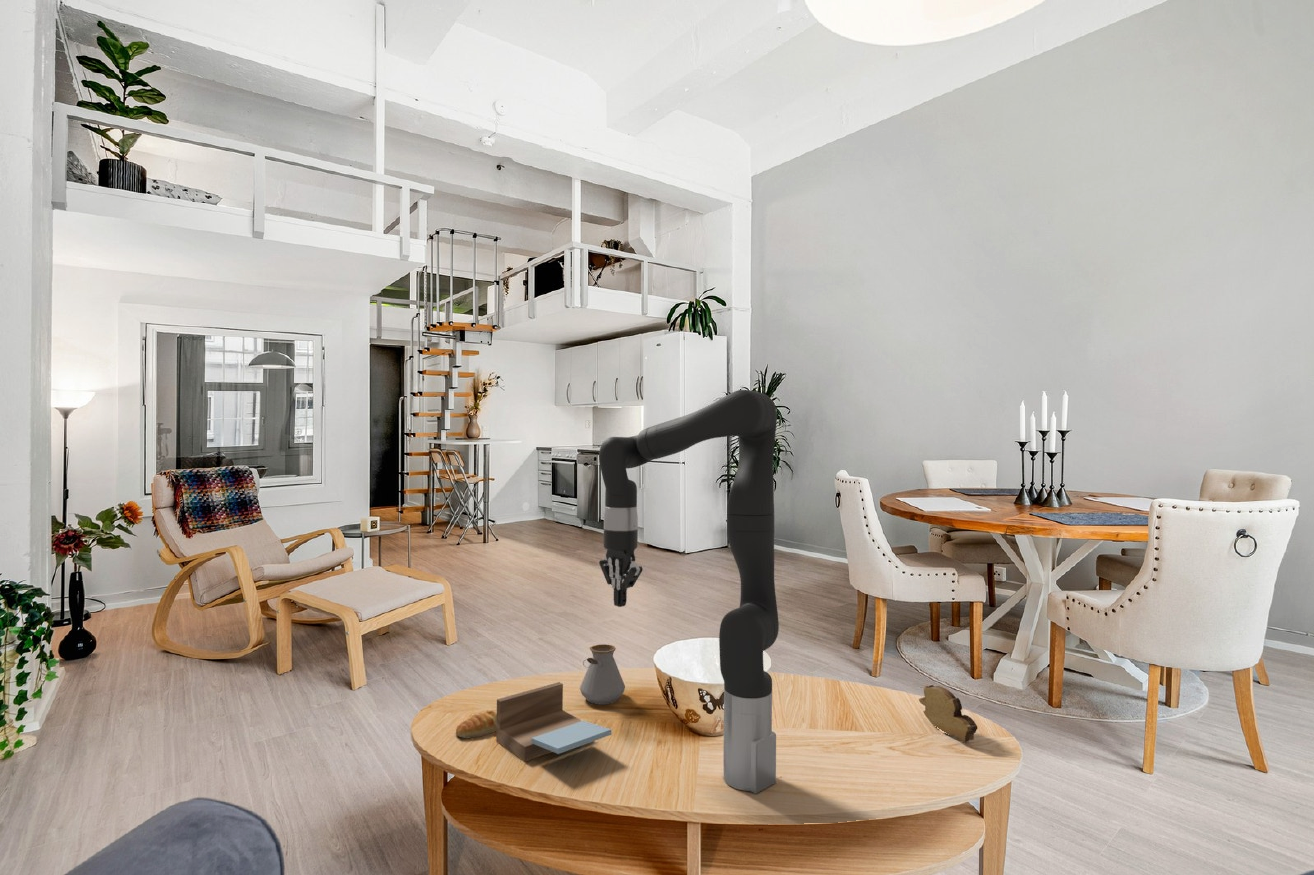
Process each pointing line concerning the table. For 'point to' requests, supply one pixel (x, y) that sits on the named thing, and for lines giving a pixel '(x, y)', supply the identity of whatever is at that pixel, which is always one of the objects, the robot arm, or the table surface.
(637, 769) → the table surface
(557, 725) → the brown wooden l-shaped piece
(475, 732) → the pastry
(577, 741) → the light blue flat panel
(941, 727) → the wooden carving
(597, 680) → the coffee pot
